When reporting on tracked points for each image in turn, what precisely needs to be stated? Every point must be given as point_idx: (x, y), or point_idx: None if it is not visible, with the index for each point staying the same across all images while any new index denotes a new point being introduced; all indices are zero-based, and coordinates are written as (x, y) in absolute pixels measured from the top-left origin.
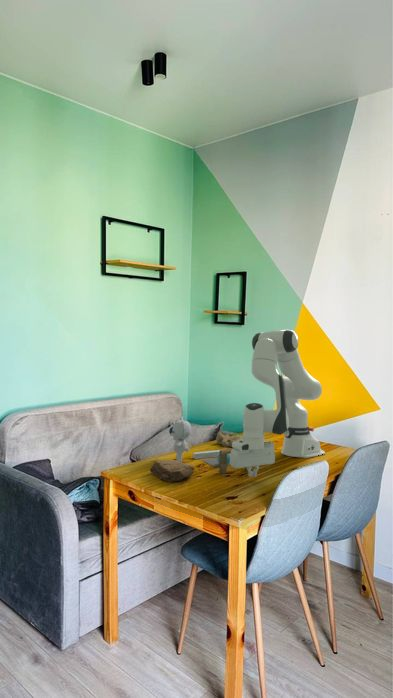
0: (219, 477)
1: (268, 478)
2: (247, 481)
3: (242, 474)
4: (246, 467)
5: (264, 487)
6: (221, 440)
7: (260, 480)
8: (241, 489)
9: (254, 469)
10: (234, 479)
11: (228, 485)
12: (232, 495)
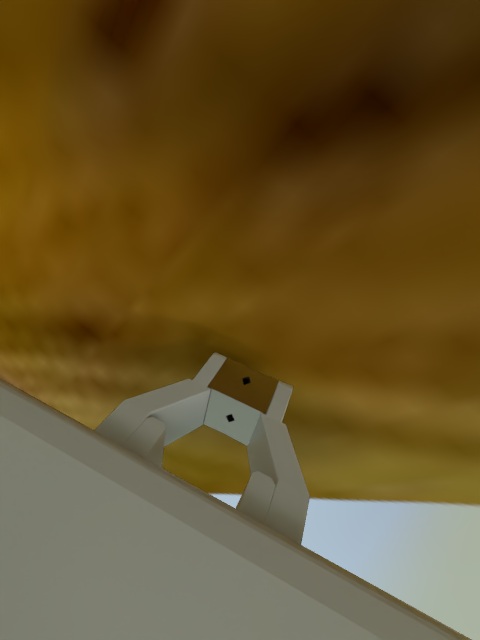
0: (7, 20)
1: (451, 450)
2: (200, 340)
3: (363, 106)
4: (116, 413)
5: (214, 469)
6: None
7: (319, 411)
8: (81, 384)
9: (262, 449)
10: (129, 215)
11: (33, 288)
12: (17, 387)
